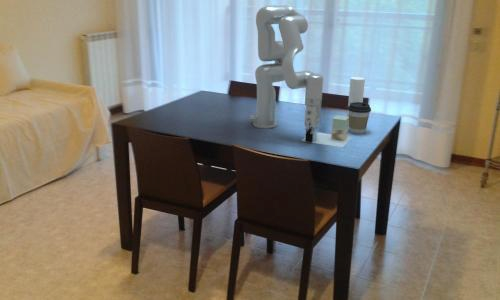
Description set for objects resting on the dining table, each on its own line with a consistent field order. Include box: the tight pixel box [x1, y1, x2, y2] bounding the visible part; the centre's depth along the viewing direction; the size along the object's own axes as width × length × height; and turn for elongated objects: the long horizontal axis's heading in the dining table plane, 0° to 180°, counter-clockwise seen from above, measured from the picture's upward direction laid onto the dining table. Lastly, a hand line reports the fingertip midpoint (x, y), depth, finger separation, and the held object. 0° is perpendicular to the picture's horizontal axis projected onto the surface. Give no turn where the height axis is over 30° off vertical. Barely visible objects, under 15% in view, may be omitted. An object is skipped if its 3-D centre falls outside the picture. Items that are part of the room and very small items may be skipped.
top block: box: [331, 115, 349, 131], centre depth 226 cm, size 6×6×5 cm
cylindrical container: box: [346, 76, 366, 128], centre depth 248 cm, size 7×7×25 cm
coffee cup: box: [347, 102, 372, 134], centre depth 237 cm, size 11×11×15 cm
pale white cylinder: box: [309, 126, 318, 142], centre depth 224 cm, size 5×5×6 cm
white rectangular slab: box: [300, 131, 352, 148], centre depth 227 cm, size 20×16×2 cm
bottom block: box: [331, 127, 349, 141], centre depth 228 cm, size 6×6×5 cm
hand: (311, 139), depth 225 cm, fingers open, 5 cm apart
